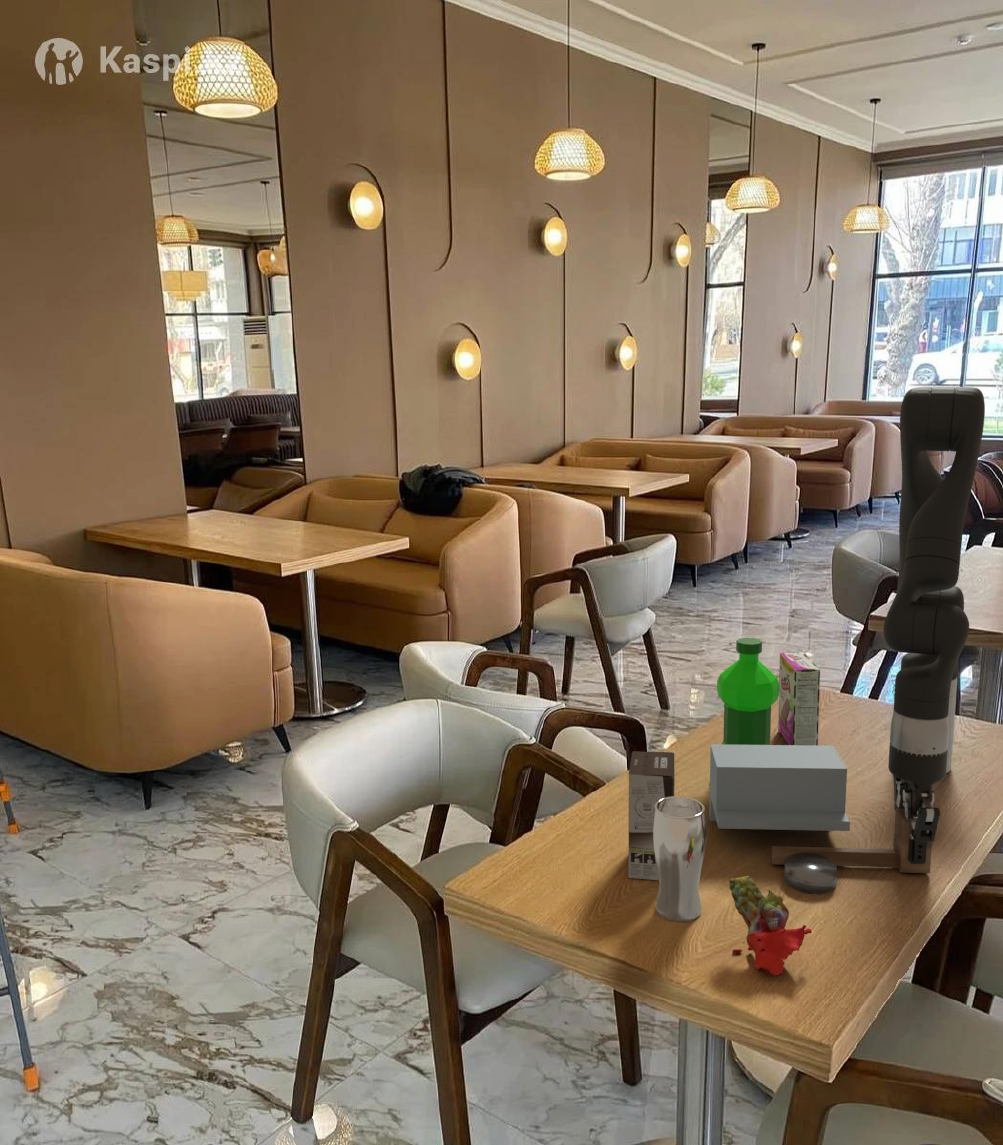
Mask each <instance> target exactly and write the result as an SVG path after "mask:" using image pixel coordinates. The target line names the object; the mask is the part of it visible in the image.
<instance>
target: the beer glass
mask: <svg viewBox="0 0 1003 1145" xmlns="http://www.w3.org/2000/svg"><path fill="white" fill-rule="evenodd" d="M654 807H655V810H654V820H653V848H654V855H655V861H656V866H657V871H658V878H659V880H658V891H657V897H656V901H655V910H656V913H657V914H659V916H661V917H662V918H664V919H665V920H668V921H672V922H676V923H677V922H678V923H679V922H680V923H684V922H685V923H686V922H691V921H694V920H696V919H697V918H699V917H700V916H701V913H702V911H703V910H702V908H703V907H702V902H701V898H700V879H701V874H702V870H703V869H702V868H703V863H704V859H705V855H706V854H705V853H706V846H707V826H706V811H705V810H706V808H705V805H704V804H703V803H702V802H701V801H699V800H697V799H696V798H692V797H687V796H682V795H681V796H680V795H674V796H671V797H665V798H662V799H660V800H658V801H657V802H656V803H655V806H654Z"/></svg>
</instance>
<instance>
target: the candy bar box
mask: <svg viewBox="0 0 1003 1145" xmlns="http://www.w3.org/2000/svg"><path fill="white" fill-rule="evenodd" d="M778 676H779V678H778V682H779V685H780V691H779V696H778V724H777V725H778V726H777V730H778V733H779V734H780V735H781V737H782V738H783V739H784V741H785V742H786V743H787V744H786V745H815V746H819V721H820V720H819V719H820V718H819V714H820V712H819V711H820V692H821V691H820V685H821V684H820V683H821V682H820V681H821V680H820V679H821V669H820V668H819V667H818V666H817V665H816V664H815V663H814V662H813V661H812V660H811V659H810V657H808V655H807V654H806V653H805V652H803V651H802V652H801V651H800V652H799V651H797V652H795V651H793V652H792V651H791V652H787V651H786V652H780V653H779V675H778Z"/></svg>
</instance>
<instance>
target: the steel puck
mask: <svg viewBox="0 0 1003 1145" xmlns="http://www.w3.org/2000/svg"><path fill="white" fill-rule="evenodd" d="M837 872H838V866H836V864H835V863H834V862H833V861H832V860H830V859H828V858H826V857H824V856H821V855H817V854H812V853H798V854H793V855H791V856H789V857H787V858H786V860H785V864H784V877H783V878H784V882H785V883H786V884H787V886H788V887H790V888H791V889H793V890H796V891H798V892H801V893H804V894H810V895H823V894H827V893H830V892H833V891H834V890H835V889H836V887H837V879H838V878H837Z"/></svg>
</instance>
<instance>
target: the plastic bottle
mask: <svg viewBox="0 0 1003 1145" xmlns="http://www.w3.org/2000/svg"><path fill="white" fill-rule="evenodd" d="M735 647H736V648H735V650H736V652H737V653H738V655H739V656H738V660H737V661H735V662H734V663H732V664H731V665H730V666H728V667H727V668H725V670H723V671H722V672H721V673H720V674H719V675H718V678H717V681H716V690H717V694H718V695H717V696H718V698H720V700H721V701H722V702H723V703H724V704H723V741H722V742H721V744H722V745H771V729H772V727H771V725H772V724H771V723H772V722H771V721H772V705H773V704H774V703H775V702H777V701H779V691H780V685H779V678H778V677H777V676H776V675H775V674H774V673H773V672H772V671H771V670H770V669H769V668H768V667H767V666H766V665H765V664H763V663H762V662H761V661H760V660H759V654H761V653H763V652H762V651H763V642H762V640H761V639H759V638H754V637H741V638H738V639H736V643H735Z"/></svg>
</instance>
